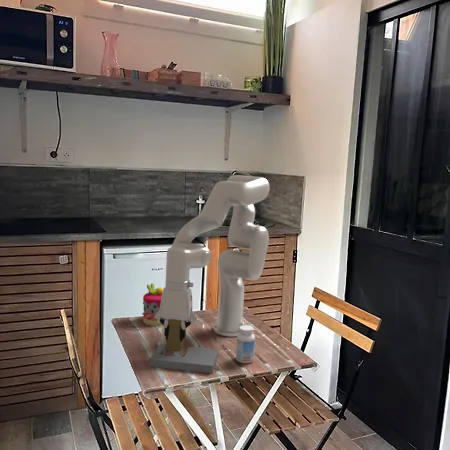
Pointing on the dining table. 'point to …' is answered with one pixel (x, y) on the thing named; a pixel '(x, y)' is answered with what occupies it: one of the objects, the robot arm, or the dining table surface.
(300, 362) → the dining table surface
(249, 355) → the pill bottle
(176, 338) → the cork
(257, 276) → the robot arm
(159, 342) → the bobbin post
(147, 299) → the cake
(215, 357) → the gray block
